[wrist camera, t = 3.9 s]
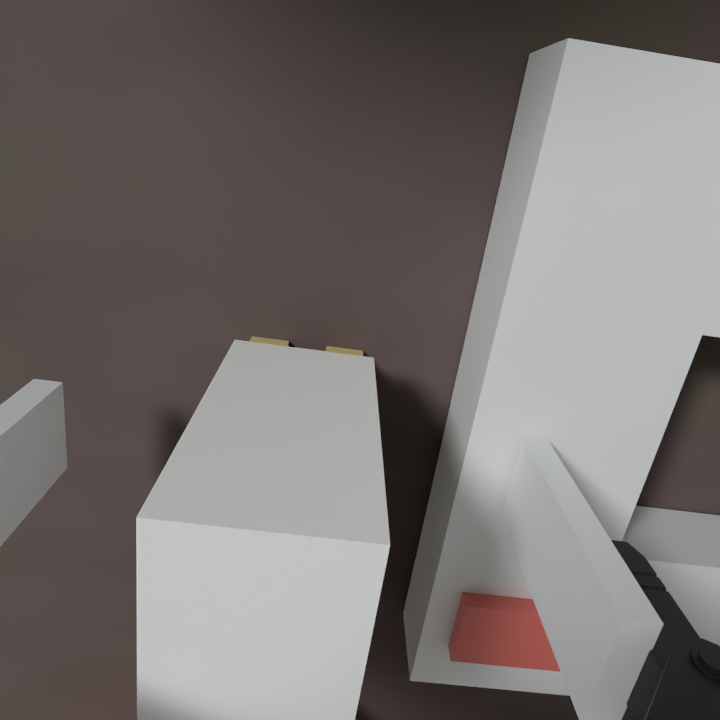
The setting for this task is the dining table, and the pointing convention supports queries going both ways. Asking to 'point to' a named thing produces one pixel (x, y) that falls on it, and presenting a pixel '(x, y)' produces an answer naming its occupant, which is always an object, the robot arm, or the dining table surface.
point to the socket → (576, 351)
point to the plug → (265, 543)
